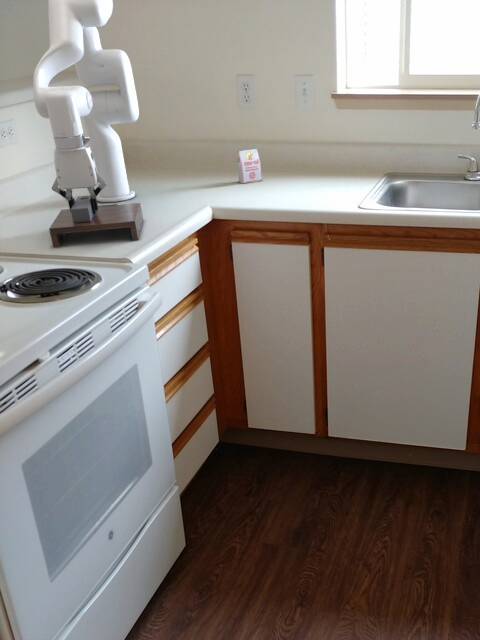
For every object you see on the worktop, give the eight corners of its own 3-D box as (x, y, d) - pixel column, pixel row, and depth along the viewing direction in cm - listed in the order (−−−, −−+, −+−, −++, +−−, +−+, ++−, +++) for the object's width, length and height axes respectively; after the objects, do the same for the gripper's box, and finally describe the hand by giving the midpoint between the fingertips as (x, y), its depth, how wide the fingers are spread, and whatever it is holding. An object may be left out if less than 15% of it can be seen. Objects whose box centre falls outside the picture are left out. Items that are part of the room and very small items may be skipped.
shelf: (65, 227, 215) (61, 209, 213) (143, 220, 217) (140, 202, 215) (53, 247, 198) (48, 228, 196) (138, 240, 200) (134, 221, 198)
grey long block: (80, 209, 211) (77, 195, 209) (97, 207, 211) (94, 194, 209) (73, 222, 199) (70, 208, 197) (90, 221, 199) (87, 207, 198)
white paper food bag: (239, 181, 255) (235, 150, 250) (257, 178, 257) (254, 148, 252) (242, 183, 252) (239, 152, 247) (261, 180, 254) (258, 149, 249)
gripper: (104, 137, 199) (118, 207, 209) (39, 142, 198) (55, 212, 207) (101, 142, 193) (115, 214, 203) (33, 148, 192) (51, 220, 201)
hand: (85, 212), depth 205 cm, fingers closed on grey long block, 4 cm apart
